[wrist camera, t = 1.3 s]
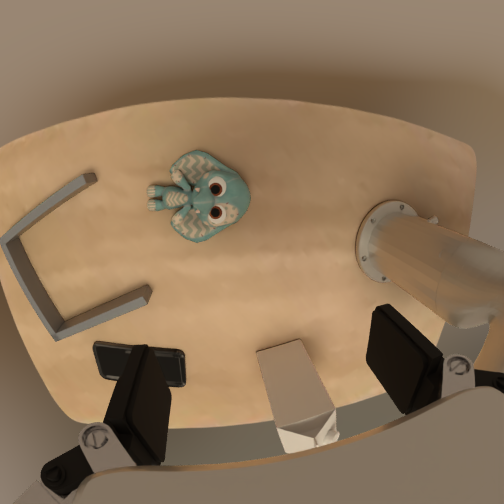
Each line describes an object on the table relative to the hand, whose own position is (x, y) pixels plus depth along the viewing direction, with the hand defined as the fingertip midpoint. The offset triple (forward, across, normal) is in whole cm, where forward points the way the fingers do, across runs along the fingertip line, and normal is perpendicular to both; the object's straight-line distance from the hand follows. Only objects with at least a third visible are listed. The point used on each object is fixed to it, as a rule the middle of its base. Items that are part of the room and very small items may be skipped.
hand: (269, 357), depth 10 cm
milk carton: (+25, -5, +22) cm, 34 cm away
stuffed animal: (+25, +4, -4) cm, 25 cm away
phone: (+25, +18, +19) cm, 36 cm away
